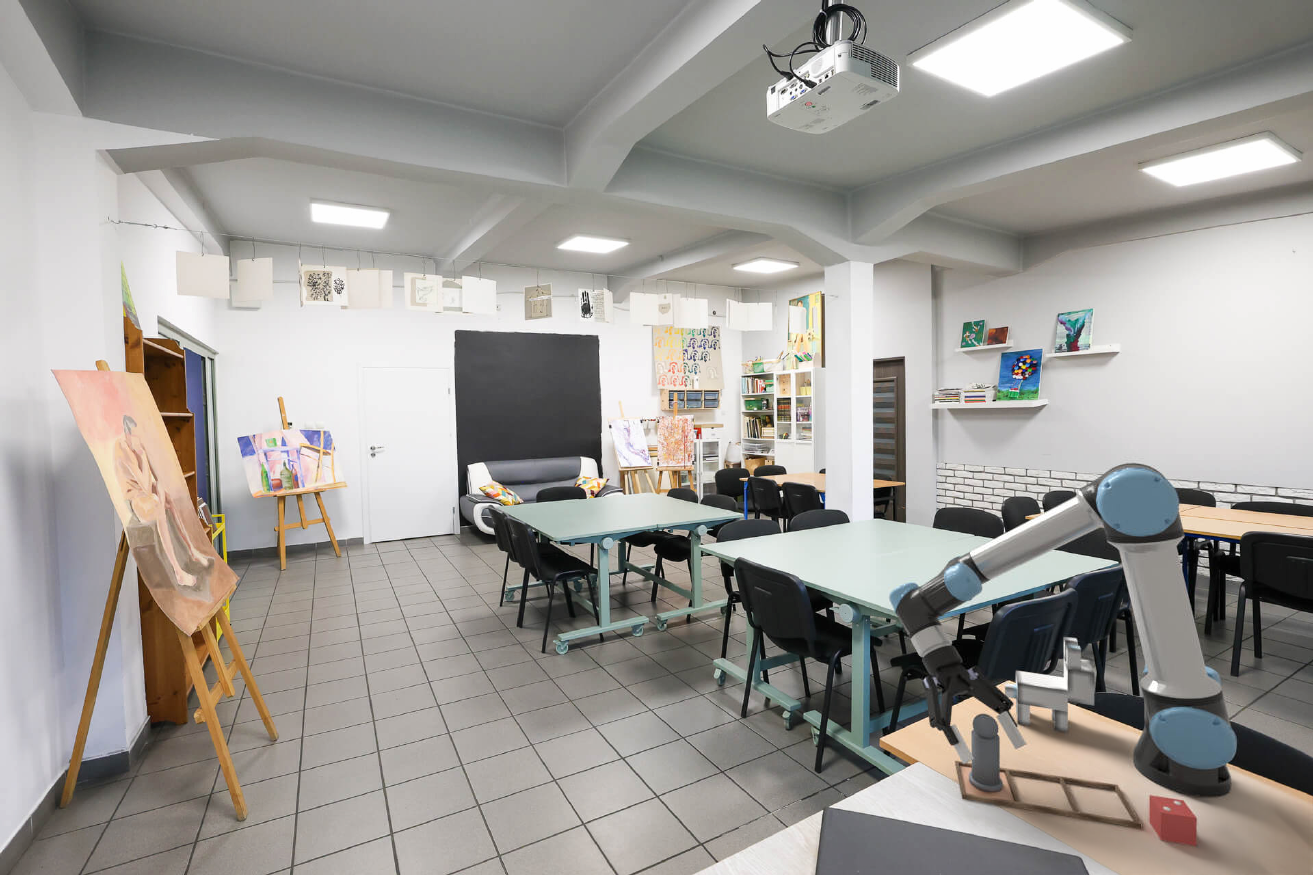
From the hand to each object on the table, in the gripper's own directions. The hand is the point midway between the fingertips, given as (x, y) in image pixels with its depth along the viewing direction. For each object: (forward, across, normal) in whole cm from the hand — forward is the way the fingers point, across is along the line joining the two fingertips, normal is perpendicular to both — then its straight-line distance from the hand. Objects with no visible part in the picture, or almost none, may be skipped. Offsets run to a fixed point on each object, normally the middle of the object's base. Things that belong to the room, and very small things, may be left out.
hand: (995, 754), depth 122 cm
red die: (+20, -18, +9) cm, 28 cm away
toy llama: (-5, -33, -16) cm, 37 cm away
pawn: (+3, 0, -7) cm, 8 cm away
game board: (+8, -7, -3) cm, 11 cm away
